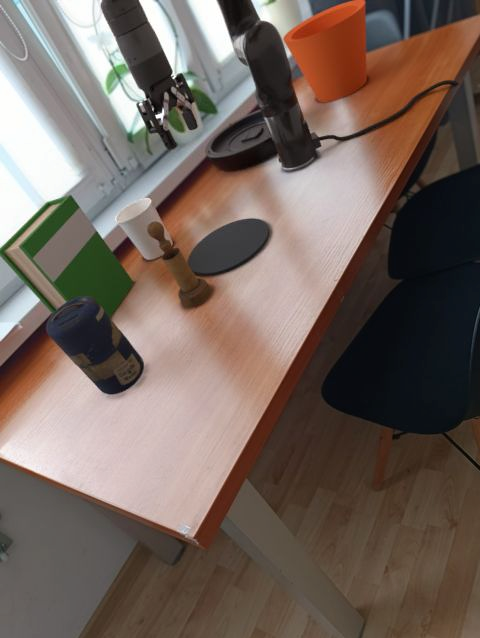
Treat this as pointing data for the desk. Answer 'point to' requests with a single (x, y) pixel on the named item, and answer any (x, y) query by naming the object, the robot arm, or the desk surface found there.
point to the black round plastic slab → (241, 144)
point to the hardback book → (66, 258)
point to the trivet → (229, 247)
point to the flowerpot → (332, 50)
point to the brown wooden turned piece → (180, 270)
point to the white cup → (142, 227)
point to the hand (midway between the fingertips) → (183, 138)
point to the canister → (95, 345)
